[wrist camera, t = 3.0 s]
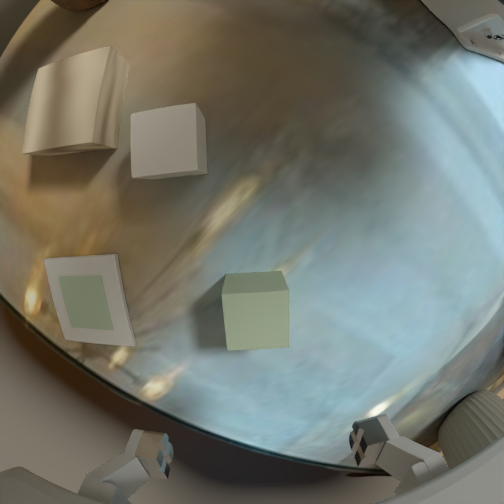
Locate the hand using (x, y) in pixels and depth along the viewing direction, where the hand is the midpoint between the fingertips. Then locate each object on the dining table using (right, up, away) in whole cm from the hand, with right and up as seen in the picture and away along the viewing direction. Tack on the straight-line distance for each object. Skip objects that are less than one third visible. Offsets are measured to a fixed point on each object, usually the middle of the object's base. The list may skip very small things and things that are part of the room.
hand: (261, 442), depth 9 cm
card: (-18, +3, +16) cm, 24 cm away
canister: (+39, -22, +23) cm, 51 cm away
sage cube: (0, +4, +16) cm, 16 cm away
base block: (-17, +22, +12) cm, 30 cm away
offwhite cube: (-7, +17, +13) cm, 22 cm away
